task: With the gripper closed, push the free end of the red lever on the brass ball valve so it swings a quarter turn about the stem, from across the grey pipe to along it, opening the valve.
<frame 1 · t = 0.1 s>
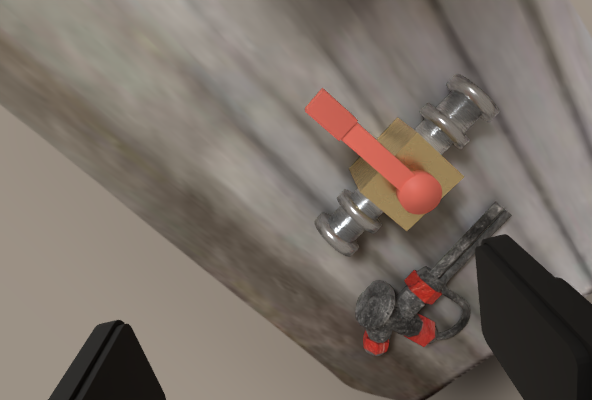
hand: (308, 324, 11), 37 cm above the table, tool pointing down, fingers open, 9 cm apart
lever: (376, 155, 37), point 10 cm above the table, hinge at 0.0°
ball valve: (393, 162, 48), on the table
valve: (436, 281, 55), on the table
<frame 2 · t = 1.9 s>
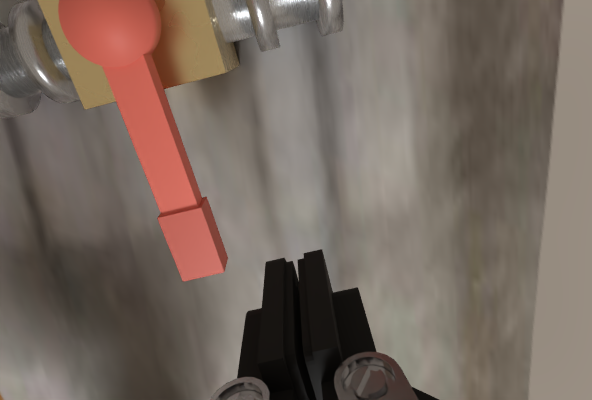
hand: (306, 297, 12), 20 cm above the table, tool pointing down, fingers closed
lever: (157, 140, 21), point 10 cm above the table, hinge at 0.0°
ball valve: (168, 27, 28), on the table
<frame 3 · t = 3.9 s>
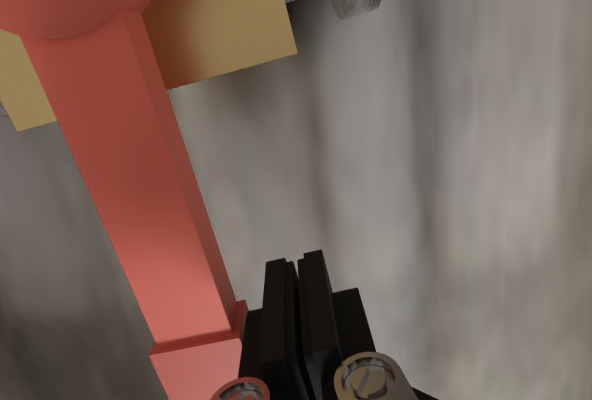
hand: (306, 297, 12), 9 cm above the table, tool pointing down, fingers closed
lever: (152, 202, 10), point 10 cm above the table, hinge at 2.4°, touching gripper
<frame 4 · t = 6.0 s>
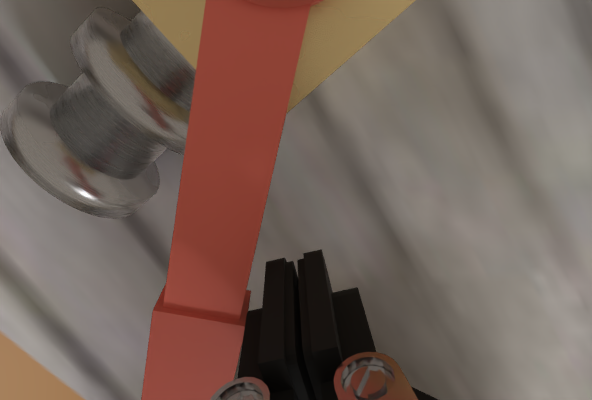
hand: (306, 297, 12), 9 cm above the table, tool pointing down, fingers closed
lever: (229, 173, 10), point 10 cm above the table, hinge at 54.1°, touching gripper
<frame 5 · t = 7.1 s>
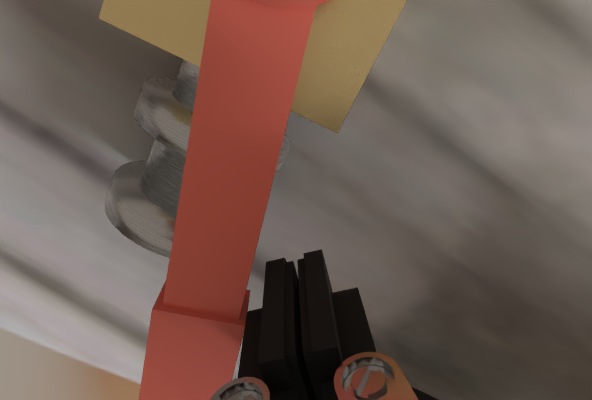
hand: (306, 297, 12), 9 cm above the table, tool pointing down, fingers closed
lever: (230, 173, 10), point 10 cm above the table, hinge at 78.6°, touching gripper
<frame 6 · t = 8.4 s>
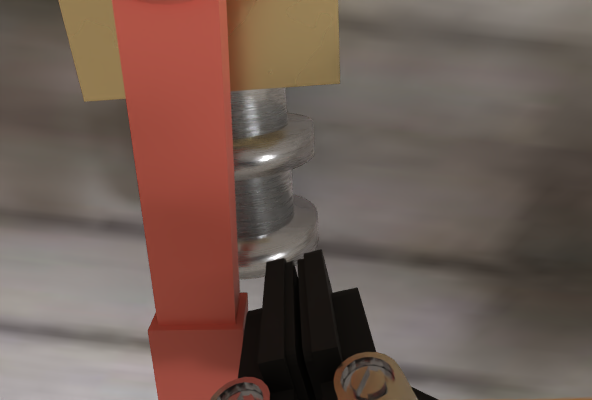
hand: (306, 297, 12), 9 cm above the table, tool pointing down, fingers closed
lever: (189, 180, 10), point 10 cm above the table, hinge at 94.5°, touching gripper
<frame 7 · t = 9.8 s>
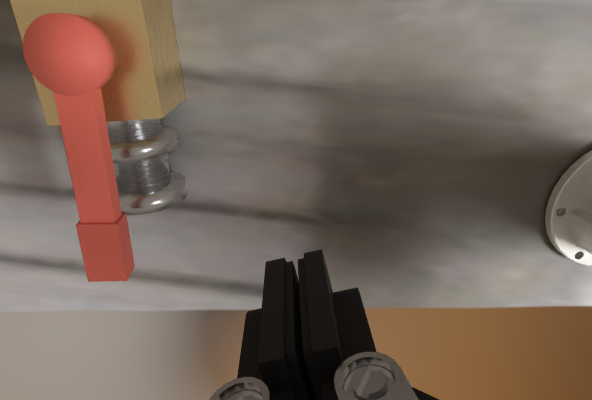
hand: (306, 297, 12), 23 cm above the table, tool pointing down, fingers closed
lever: (90, 160, 24), point 10 cm above the table, hinge at 94.2°
ball valve: (129, 47, 30), on the table
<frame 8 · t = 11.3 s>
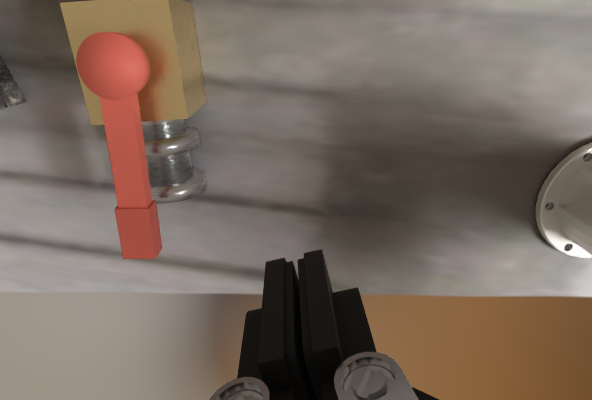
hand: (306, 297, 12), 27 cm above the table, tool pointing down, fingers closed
lever: (127, 154, 28), point 10 cm above the table, hinge at 94.2°
ball valve: (158, 58, 35), on the table
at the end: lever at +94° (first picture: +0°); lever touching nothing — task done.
